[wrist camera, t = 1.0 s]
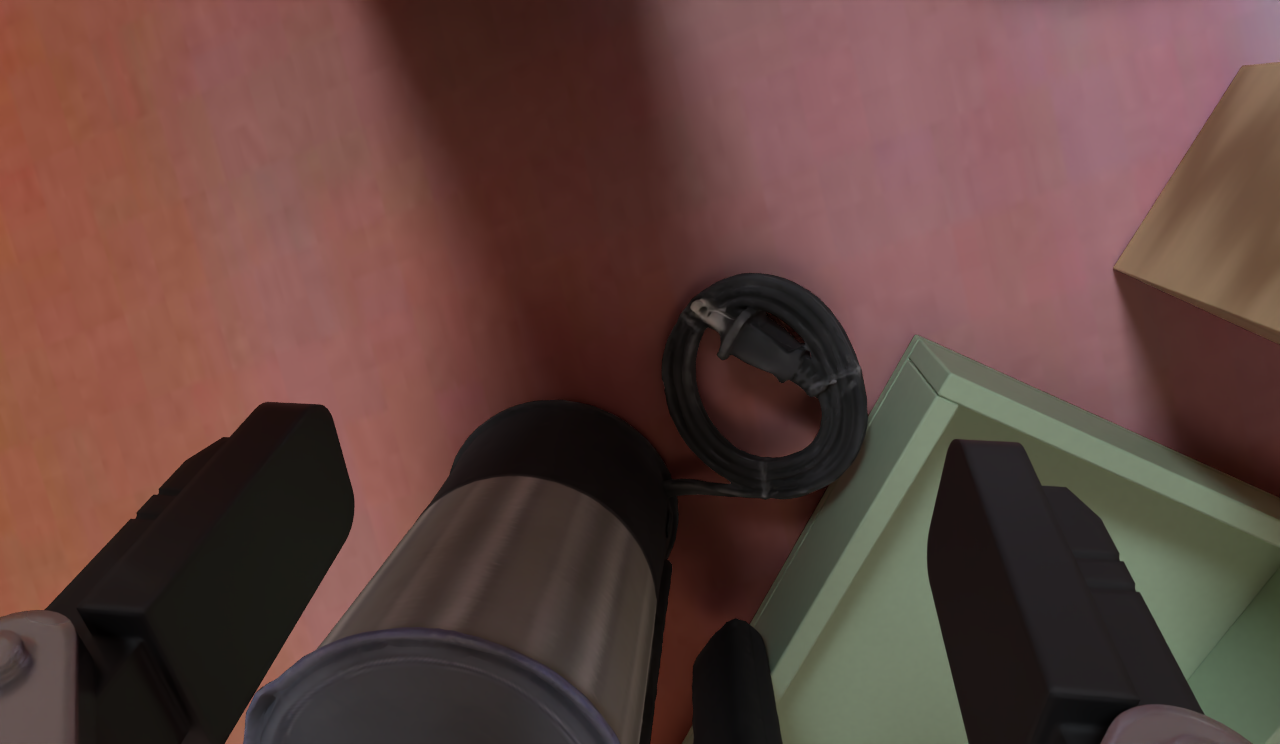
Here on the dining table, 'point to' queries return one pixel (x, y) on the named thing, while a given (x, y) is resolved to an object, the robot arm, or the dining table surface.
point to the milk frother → (572, 563)
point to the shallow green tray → (1061, 456)
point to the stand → (1222, 212)
